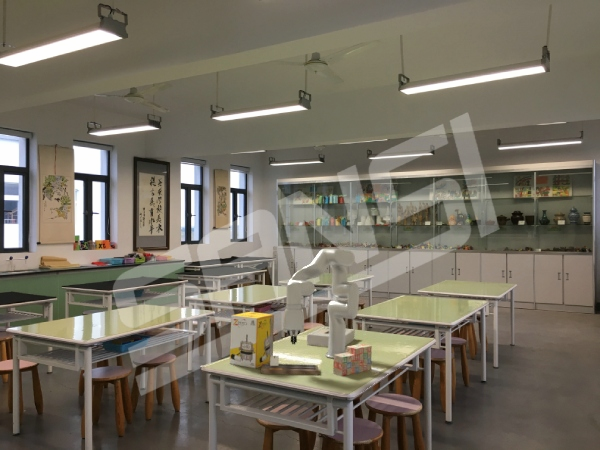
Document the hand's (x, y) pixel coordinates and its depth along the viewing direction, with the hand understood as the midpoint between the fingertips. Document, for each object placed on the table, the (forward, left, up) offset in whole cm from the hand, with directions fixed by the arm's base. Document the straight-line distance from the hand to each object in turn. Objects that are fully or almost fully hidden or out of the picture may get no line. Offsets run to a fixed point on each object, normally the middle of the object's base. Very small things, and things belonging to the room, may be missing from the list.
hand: (293, 343), depth 240 cm
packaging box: (+21, -15, -14) cm, 30 cm away
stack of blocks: (-30, -2, -14) cm, 33 cm away
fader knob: (+9, +1, -11) cm, 15 cm away
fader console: (+1, +1, -14) cm, 14 cm away
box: (-27, -71, -14) cm, 78 cm away
